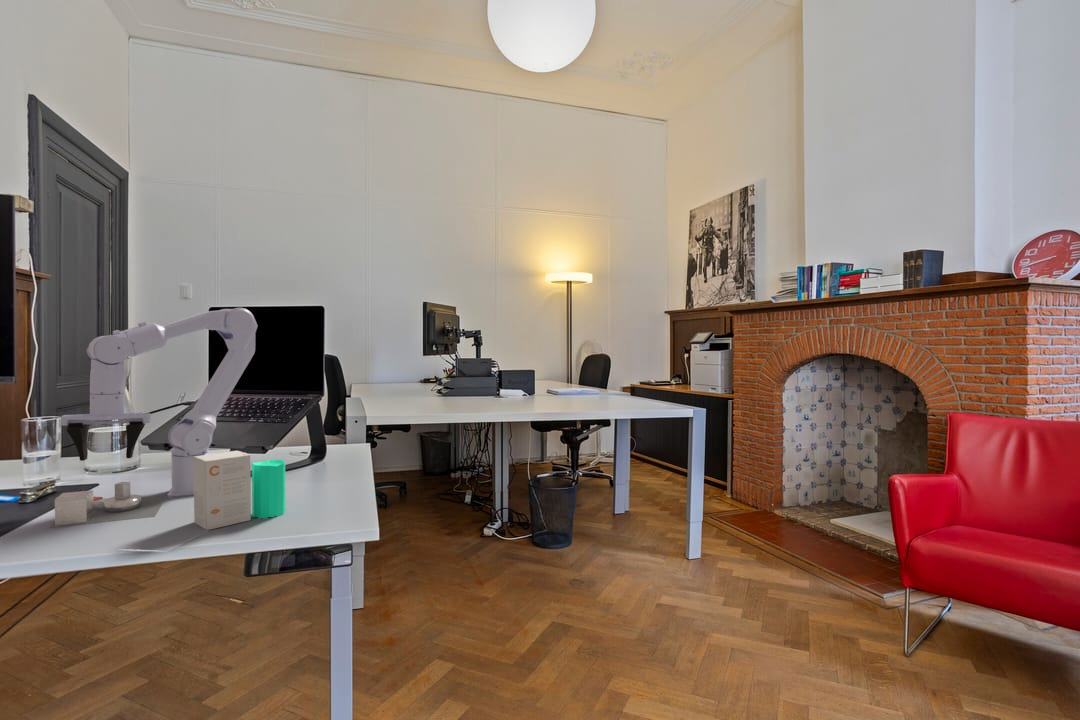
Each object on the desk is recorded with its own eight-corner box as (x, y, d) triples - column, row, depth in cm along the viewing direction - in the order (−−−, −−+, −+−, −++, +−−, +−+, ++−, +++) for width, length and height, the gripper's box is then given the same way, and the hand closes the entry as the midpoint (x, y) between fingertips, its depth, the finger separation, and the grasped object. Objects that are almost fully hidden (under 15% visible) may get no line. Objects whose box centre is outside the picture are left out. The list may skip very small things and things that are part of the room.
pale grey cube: (93, 515, 107) (93, 490, 107) (86, 522, 103) (86, 496, 103) (63, 518, 105) (62, 492, 105) (55, 526, 101) (54, 499, 101)
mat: (167, 496, 121) (167, 495, 121) (154, 517, 107) (154, 516, 107) (75, 505, 114) (75, 504, 114) (48, 529, 100) (48, 527, 100)
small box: (238, 513, 111) (238, 449, 110) (251, 520, 106) (251, 454, 106) (192, 523, 104) (192, 455, 104) (205, 531, 100) (204, 460, 100)
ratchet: (148, 504, 115) (147, 479, 115) (124, 513, 109) (124, 487, 109) (89, 502, 115) (88, 478, 115) (62, 511, 109) (62, 485, 109)
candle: (252, 520, 107) (251, 459, 106) (252, 511, 112) (252, 453, 112) (285, 516, 110) (285, 456, 109) (284, 507, 115) (284, 451, 114)
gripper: (55, 395, 107) (55, 464, 107) (146, 394, 113) (145, 460, 113) (68, 392, 113) (67, 457, 113) (152, 391, 120) (151, 453, 120)
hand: (106, 458), depth 114 cm, fingers open, 7 cm apart
